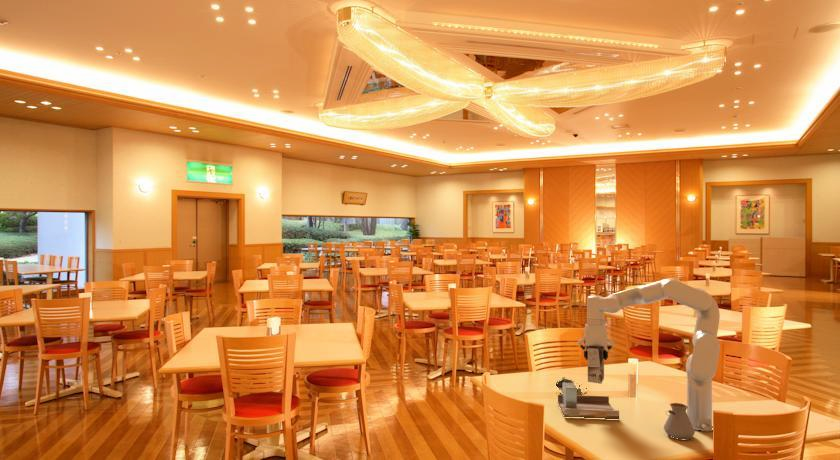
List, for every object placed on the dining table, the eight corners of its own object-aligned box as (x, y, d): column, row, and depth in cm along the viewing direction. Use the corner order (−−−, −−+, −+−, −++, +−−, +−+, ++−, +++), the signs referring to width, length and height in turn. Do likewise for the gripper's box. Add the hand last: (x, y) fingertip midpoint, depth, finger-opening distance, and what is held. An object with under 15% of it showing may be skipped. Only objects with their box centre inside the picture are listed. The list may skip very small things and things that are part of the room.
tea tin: (577, 410, 230) (576, 388, 230) (565, 410, 230) (565, 387, 230) (573, 404, 238) (573, 382, 238) (562, 404, 239) (562, 382, 239)
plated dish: (587, 406, 242) (587, 391, 243) (533, 396, 259) (533, 382, 259) (606, 388, 271) (606, 375, 271) (556, 380, 287) (556, 367, 287)
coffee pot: (667, 428, 214) (667, 393, 214) (697, 435, 206) (697, 399, 206) (653, 445, 198) (652, 407, 198) (684, 453, 190) (684, 414, 190)
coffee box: (601, 384, 227) (601, 349, 227) (587, 382, 230) (587, 347, 230) (604, 378, 235) (604, 344, 235) (590, 376, 238) (590, 343, 238)
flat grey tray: (619, 420, 222) (619, 409, 222) (564, 419, 225) (564, 408, 225) (608, 406, 241) (608, 396, 241) (557, 404, 243) (557, 394, 243)
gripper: (612, 320, 235) (612, 357, 235) (574, 320, 237) (575, 356, 237) (617, 323, 228) (617, 361, 228) (578, 323, 230) (578, 361, 230)
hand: (595, 359), depth 232 cm, fingers closed on coffee box, 8 cm apart
